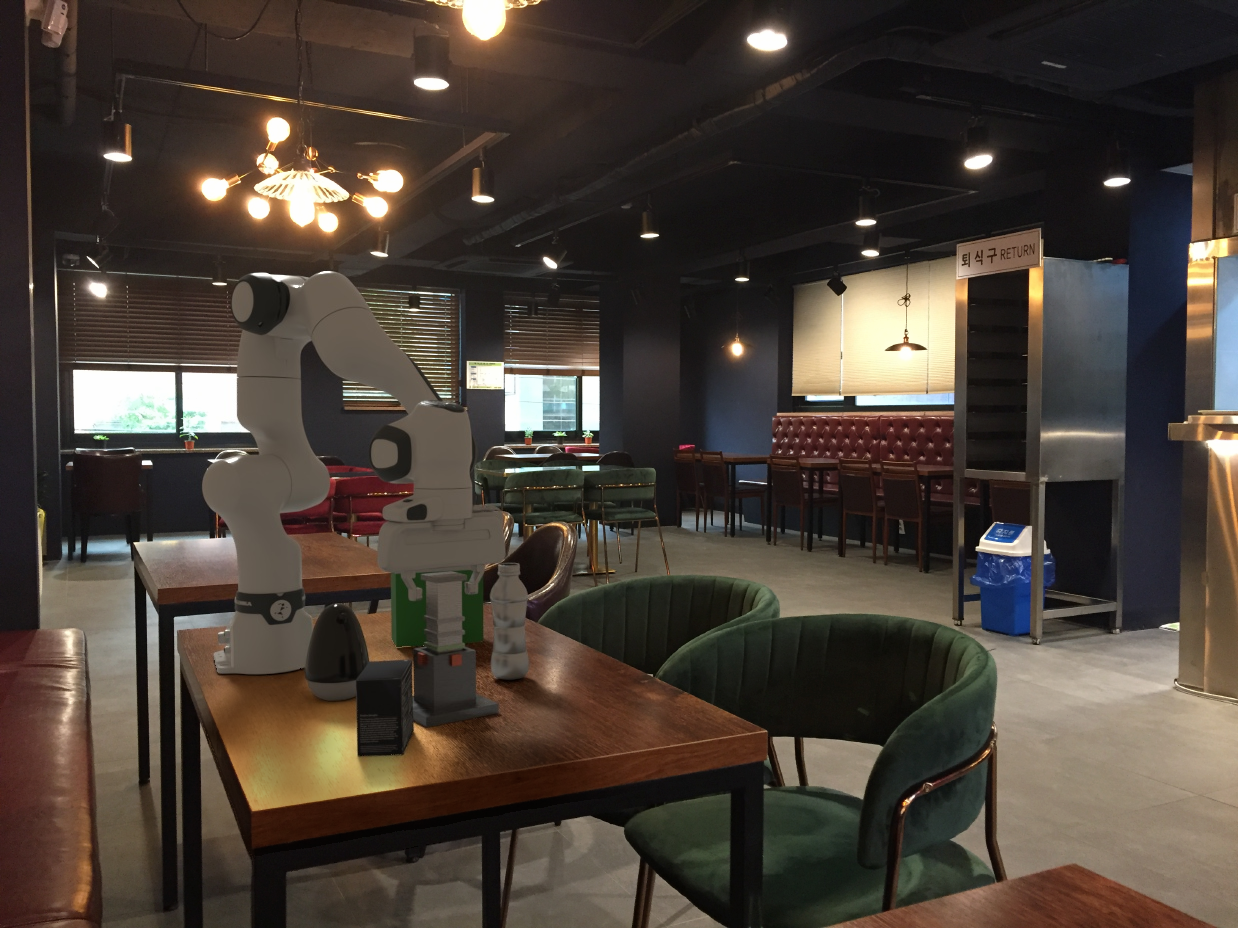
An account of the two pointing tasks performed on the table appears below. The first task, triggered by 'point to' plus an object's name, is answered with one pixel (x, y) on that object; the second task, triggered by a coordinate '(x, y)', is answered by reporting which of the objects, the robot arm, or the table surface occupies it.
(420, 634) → the hardback book
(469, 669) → the stand
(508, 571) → the plastic bottle
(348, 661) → the pump dispenser
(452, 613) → the column
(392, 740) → the small box
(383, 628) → the table surface
